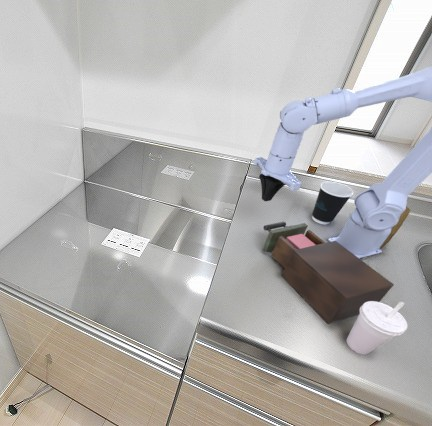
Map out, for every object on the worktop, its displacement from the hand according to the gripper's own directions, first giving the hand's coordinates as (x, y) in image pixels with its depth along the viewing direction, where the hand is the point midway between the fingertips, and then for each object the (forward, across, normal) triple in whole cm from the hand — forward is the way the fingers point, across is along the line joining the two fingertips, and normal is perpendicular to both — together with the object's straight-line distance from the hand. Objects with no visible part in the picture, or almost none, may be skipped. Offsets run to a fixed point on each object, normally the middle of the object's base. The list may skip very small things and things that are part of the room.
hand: (266, 199), depth 80 cm
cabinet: (+10, +24, 0) cm, 26 cm away
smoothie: (+10, +36, -4) cm, 38 cm away
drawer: (+9, +13, 0) cm, 16 cm away
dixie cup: (+10, +2, +21) cm, 23 cm away
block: (+8, +14, 0) cm, 16 cm away
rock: (+10, +12, +29) cm, 33 cm away
